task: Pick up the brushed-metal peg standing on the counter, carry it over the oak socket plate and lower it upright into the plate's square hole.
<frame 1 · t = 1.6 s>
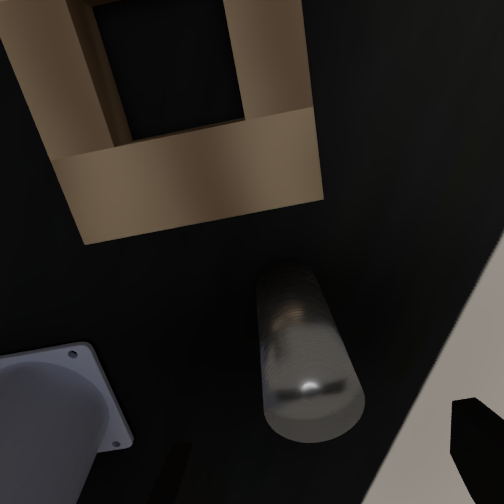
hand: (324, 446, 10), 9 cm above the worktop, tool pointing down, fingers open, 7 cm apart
socket plate: (172, 65, 14), on the worktop
metal peg: (286, 285, 19), on the worktop
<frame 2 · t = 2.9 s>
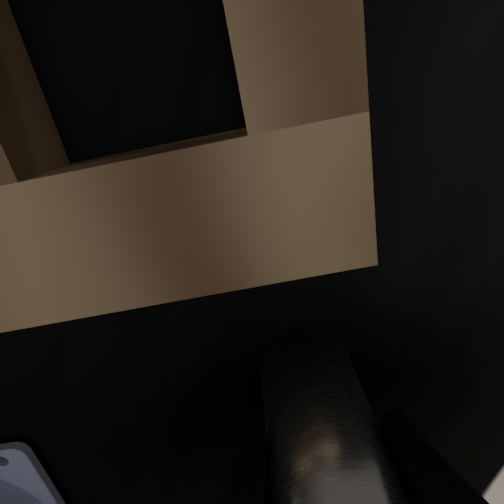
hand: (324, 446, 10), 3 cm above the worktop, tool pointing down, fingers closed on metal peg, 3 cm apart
socket plate: (127, 42, 9), on the worktop
metal peg: (305, 367, 13), on the worktop, touching gripper
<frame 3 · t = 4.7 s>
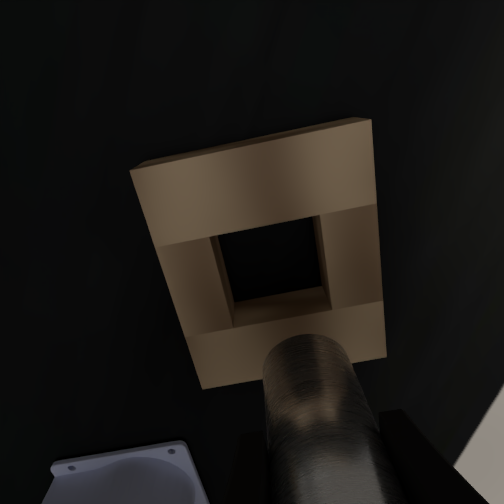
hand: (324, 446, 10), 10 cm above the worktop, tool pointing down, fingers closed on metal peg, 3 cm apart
socket plate: (269, 254, 19), on the worktop
metal peg: (306, 369, 13), point 7 cm above the worktop, touching gripper
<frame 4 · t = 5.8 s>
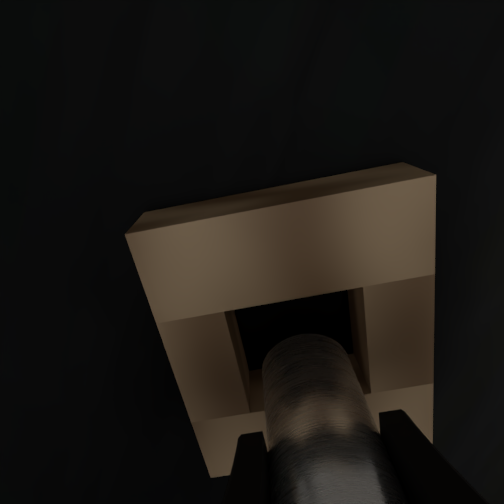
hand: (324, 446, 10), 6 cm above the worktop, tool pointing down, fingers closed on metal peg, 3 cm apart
socket plate: (293, 318, 16), on the worktop
metal peg: (305, 369, 13), point 3 cm above the worktop, touching gripper
when the fingers open (4 cm above the worktop, at t = 6.7 s): metal peg stays where it is, resting in socket plate.
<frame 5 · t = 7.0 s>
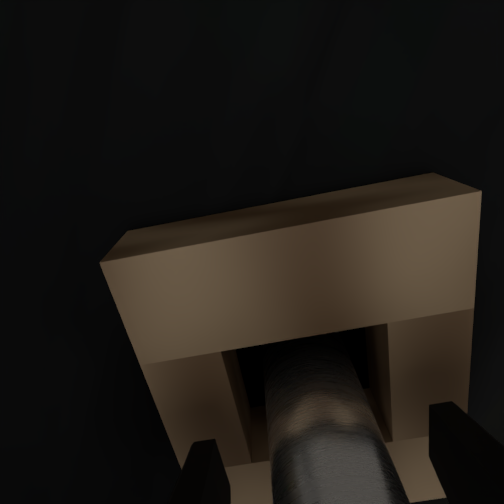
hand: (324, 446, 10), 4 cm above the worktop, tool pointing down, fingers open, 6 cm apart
socket plate: (301, 350, 14), on the worktop
metal peg: (302, 352, 14), resting in socket plate
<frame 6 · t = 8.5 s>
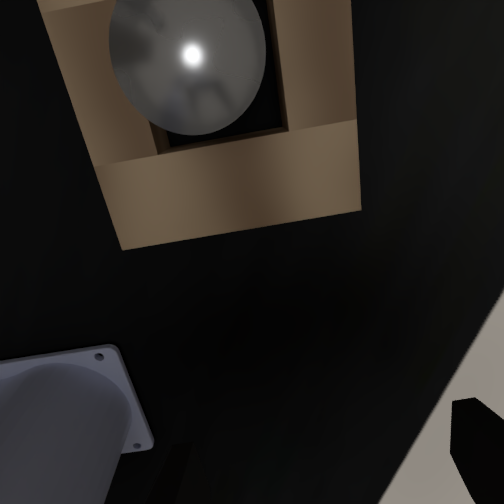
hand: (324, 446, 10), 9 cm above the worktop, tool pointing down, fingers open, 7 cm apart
socket plate: (213, 74, 15), on the worktop
metal peg: (215, 77, 15), resting in socket plate
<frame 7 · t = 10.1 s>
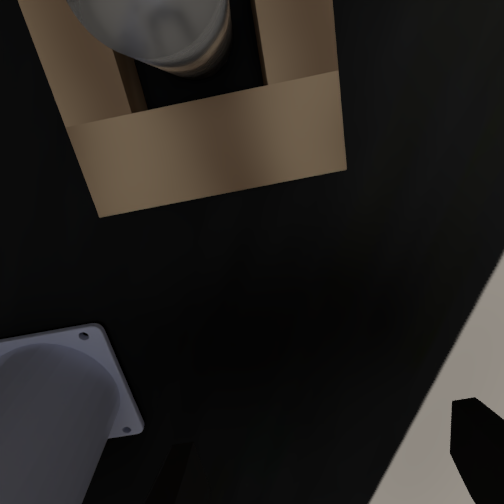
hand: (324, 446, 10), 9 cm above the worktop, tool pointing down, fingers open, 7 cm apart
socket plate: (190, 32, 14), on the worktop
metal peg: (192, 35, 14), resting in socket plate
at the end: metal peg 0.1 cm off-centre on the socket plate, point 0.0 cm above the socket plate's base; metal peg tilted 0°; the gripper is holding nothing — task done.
